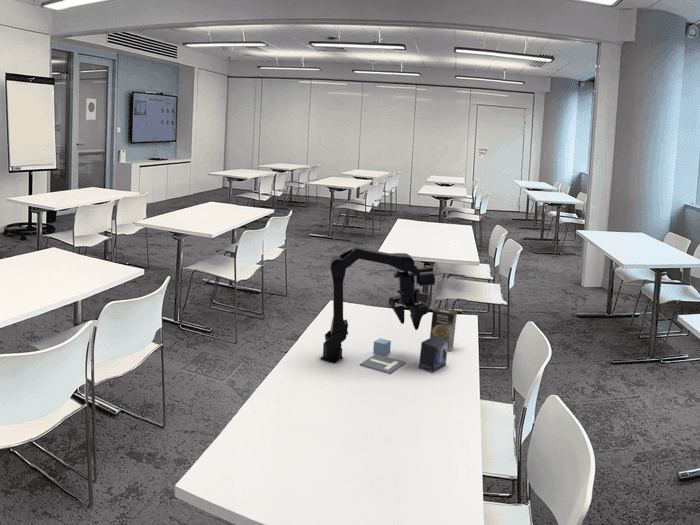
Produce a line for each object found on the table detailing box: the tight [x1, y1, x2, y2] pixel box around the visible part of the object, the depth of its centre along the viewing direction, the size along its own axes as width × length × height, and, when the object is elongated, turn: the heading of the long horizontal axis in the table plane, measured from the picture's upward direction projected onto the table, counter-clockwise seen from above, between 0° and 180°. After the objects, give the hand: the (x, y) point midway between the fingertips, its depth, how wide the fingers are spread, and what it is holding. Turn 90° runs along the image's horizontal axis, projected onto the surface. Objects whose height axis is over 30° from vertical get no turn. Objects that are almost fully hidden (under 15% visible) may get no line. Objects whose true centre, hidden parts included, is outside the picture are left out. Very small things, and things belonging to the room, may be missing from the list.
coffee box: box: [429, 306, 458, 352], centre depth 240 cm, size 9×6×16 cm
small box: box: [418, 336, 449, 373], centre depth 220 cm, size 11×6×10 cm, turn 143°
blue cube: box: [372, 337, 392, 356], centre depth 231 cm, size 5×5×5 cm
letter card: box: [359, 354, 407, 375], centre depth 220 cm, size 13×13×1 cm
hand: (409, 326), depth 222 cm, fingers open, 9 cm apart
